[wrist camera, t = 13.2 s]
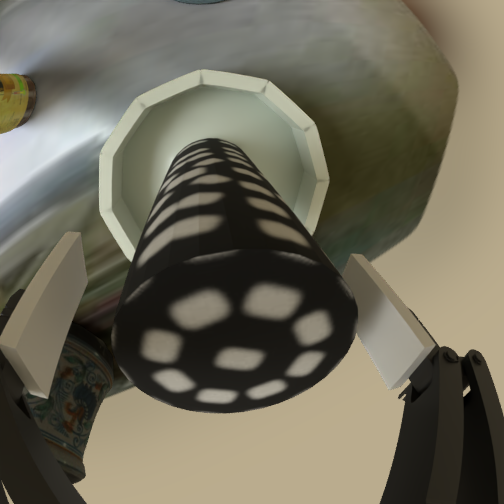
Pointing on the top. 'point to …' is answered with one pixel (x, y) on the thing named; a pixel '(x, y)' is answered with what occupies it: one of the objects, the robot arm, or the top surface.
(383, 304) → the robot arm
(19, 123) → the sauce bottle
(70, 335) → the beer stein
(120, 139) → the bowl
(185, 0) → the cocktail glass
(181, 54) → the top surface
